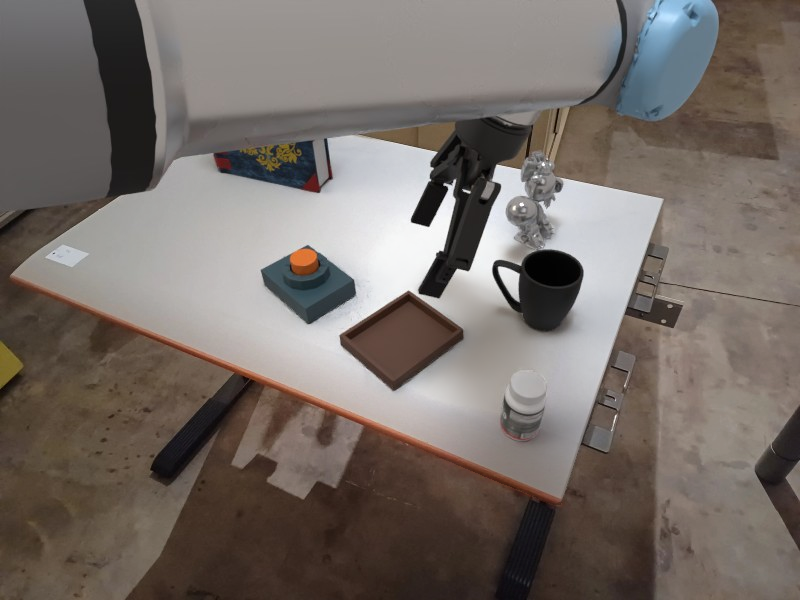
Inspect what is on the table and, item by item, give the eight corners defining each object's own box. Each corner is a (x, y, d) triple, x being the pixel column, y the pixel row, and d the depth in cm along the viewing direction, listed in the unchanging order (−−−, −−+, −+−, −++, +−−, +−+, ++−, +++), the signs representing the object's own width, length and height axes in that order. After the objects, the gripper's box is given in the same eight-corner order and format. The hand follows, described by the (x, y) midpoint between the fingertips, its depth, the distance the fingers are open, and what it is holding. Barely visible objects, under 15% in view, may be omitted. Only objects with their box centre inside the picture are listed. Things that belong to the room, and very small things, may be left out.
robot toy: (525, 271, 88) (538, 190, 77) (490, 257, 90) (499, 177, 80) (563, 225, 96) (580, 146, 86) (531, 214, 99) (543, 136, 89)
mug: (495, 287, 85) (501, 238, 79) (575, 306, 82) (588, 256, 75) (481, 323, 80) (486, 273, 73) (565, 344, 76) (579, 294, 70)
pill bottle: (504, 404, 69) (512, 361, 64) (542, 415, 68) (553, 372, 62) (495, 435, 66) (502, 392, 60) (535, 447, 65) (545, 405, 59)
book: (210, 171, 113) (172, 45, 96) (230, 155, 118) (197, 32, 101) (318, 194, 106) (297, 62, 88) (334, 176, 110) (318, 47, 93)
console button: (324, 267, 83) (322, 257, 81) (302, 280, 81) (300, 269, 79) (308, 255, 85) (306, 245, 83) (286, 267, 83) (284, 256, 82)
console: (356, 295, 85) (353, 270, 81) (308, 324, 80) (303, 299, 77) (310, 259, 91) (306, 235, 88) (264, 285, 87) (257, 260, 84)
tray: (393, 391, 71) (393, 381, 70) (340, 344, 77) (339, 335, 76) (463, 338, 78) (464, 329, 76) (408, 299, 84) (408, 289, 82)
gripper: (564, 189, 49) (463, 336, 63) (510, 68, 66) (440, 205, 81) (489, 166, 47) (402, 323, 61) (454, 47, 64) (392, 191, 78)
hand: (423, 256), depth 71 cm, fingers open, 13 cm apart
